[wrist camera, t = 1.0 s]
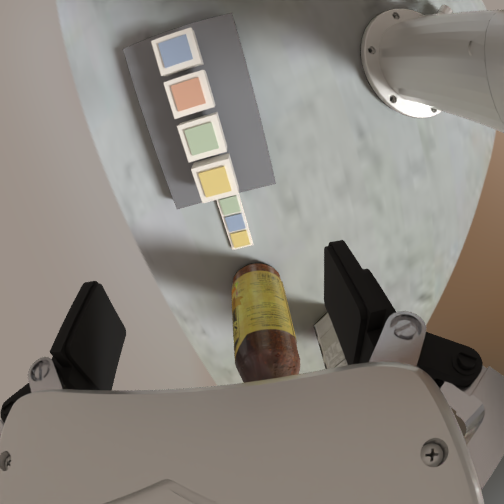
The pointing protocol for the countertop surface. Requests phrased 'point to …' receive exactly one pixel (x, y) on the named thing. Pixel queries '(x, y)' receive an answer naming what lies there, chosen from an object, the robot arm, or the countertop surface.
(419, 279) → the countertop surface
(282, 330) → the sauce bottle
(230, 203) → the strip
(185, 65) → the key blue
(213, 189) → the key mustard
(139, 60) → the keypad board
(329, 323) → the candy bar box
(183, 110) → the key terracotta
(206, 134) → the key sage
